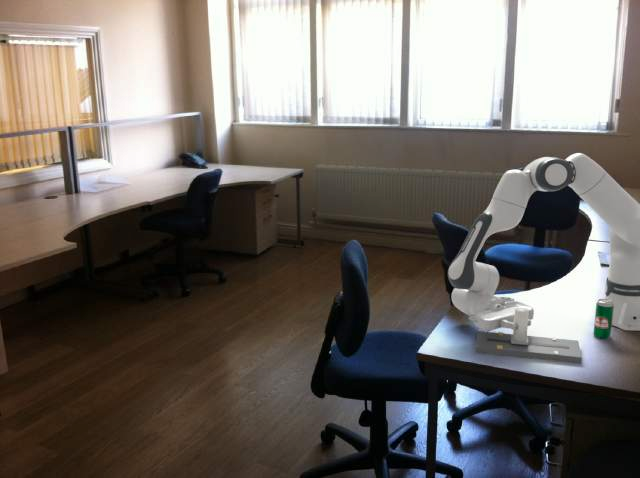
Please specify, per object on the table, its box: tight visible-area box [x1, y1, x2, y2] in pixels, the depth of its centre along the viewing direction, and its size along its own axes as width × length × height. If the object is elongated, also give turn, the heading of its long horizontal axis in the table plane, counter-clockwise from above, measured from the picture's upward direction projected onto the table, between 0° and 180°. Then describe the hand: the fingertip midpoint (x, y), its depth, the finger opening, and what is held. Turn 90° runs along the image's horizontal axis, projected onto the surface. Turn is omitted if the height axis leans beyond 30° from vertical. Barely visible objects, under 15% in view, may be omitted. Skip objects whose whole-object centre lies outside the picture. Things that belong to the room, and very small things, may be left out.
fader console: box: [475, 330, 583, 365], centre depth 195 cm, size 30×12×2 cm, turn 73°
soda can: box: [593, 298, 614, 340], centre depth 202 cm, size 5×5×12 cm
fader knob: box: [510, 308, 529, 345], centre depth 193 cm, size 5×5×10 cm
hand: (522, 325), depth 193 cm, fingers closed on fader knob, 4 cm apart
